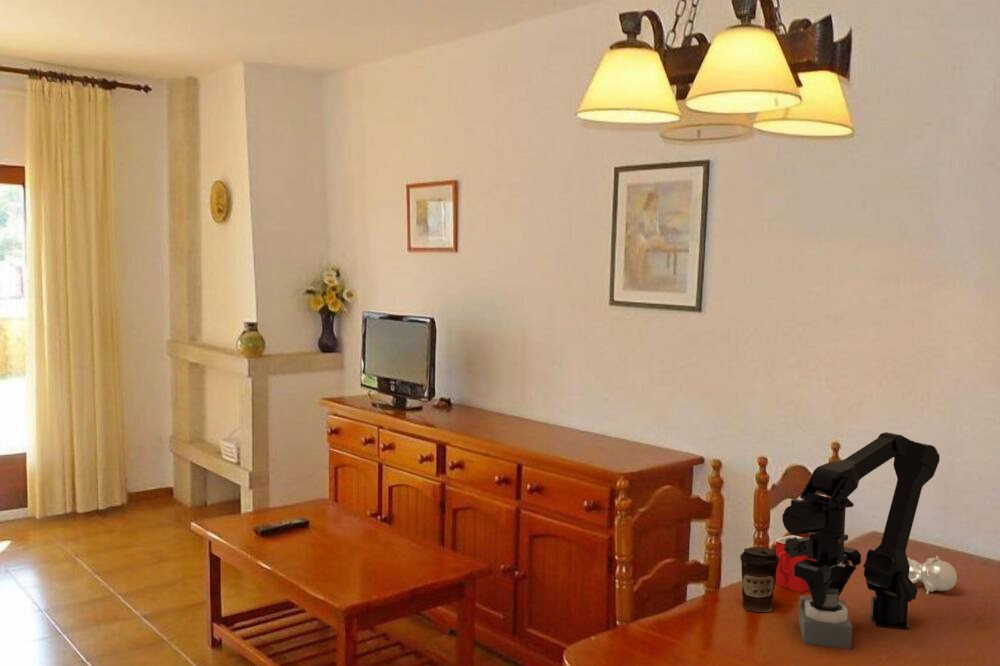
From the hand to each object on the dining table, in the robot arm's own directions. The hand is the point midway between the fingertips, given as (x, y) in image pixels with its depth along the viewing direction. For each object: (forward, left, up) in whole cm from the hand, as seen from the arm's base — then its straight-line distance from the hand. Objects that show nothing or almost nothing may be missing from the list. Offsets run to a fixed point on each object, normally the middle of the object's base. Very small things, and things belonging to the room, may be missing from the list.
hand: (826, 604), depth 182 cm
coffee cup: (+13, -12, -7) cm, 19 cm away
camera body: (0, -1, -7) cm, 7 cm away
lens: (0, 0, -2) cm, 2 cm away
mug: (+5, -29, -7) cm, 31 cm away
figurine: (-26, -39, -7) cm, 48 cm away
